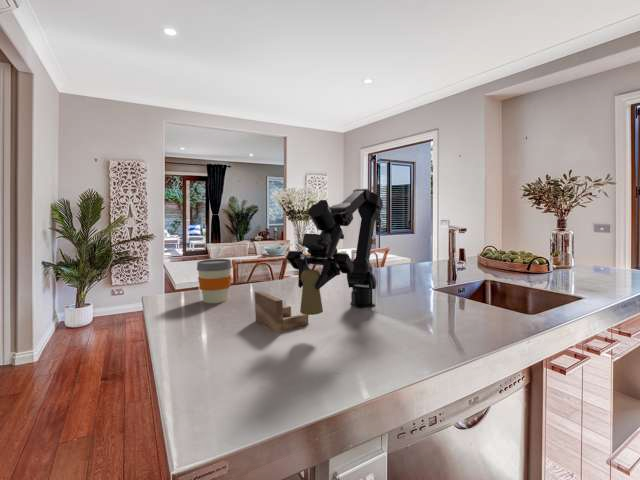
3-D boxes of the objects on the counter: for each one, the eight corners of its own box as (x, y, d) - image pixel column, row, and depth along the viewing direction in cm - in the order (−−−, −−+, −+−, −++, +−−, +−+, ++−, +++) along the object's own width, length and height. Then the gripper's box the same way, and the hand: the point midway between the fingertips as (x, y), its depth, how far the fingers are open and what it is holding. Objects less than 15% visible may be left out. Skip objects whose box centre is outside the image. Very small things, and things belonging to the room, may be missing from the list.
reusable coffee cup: (237, 300, 128) (236, 261, 127) (203, 306, 121) (201, 264, 120) (226, 294, 139) (225, 257, 137) (194, 299, 132) (192, 261, 130)
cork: (320, 315, 87) (319, 272, 86) (297, 314, 88) (296, 272, 87) (324, 308, 93) (324, 268, 92) (303, 307, 94) (302, 268, 93)
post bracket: (287, 314, 111) (286, 286, 110) (310, 325, 99) (310, 294, 98) (255, 320, 104) (254, 291, 104) (276, 333, 93) (275, 301, 92)
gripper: (288, 222, 96) (264, 267, 88) (348, 222, 87) (328, 272, 78) (304, 247, 104) (284, 290, 95) (361, 249, 94) (344, 298, 86)
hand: (308, 287), depth 88 cm, fingers closed on cork, 5 cm apart
